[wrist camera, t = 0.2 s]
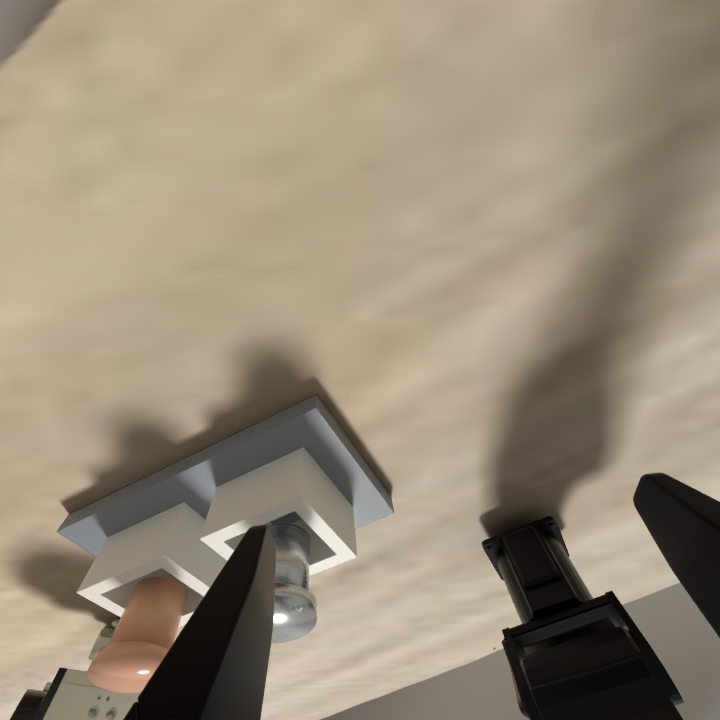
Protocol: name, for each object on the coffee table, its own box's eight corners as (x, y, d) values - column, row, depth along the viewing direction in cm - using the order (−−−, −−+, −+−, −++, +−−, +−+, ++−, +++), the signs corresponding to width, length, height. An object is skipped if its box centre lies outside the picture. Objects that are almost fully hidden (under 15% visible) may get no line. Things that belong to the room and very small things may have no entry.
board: (391, 497, 30) (403, 562, 26) (176, 586, 34) (152, 657, 29) (316, 394, 25) (314, 452, 20) (68, 514, 28) (16, 588, 24)
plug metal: (330, 547, 25) (331, 626, 21) (273, 570, 26) (263, 651, 22) (293, 508, 23) (286, 588, 19) (232, 535, 24) (212, 617, 19)
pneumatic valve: (183, 648, 40) (133, 825, 29) (63, 627, 36) (-45, 822, 25) (202, 623, 38) (155, 805, 27) (76, 598, 34) (-35, 798, 23)
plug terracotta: (209, 595, 27) (188, 678, 22) (158, 616, 27) (129, 699, 23) (164, 564, 24) (131, 649, 20) (110, 587, 25) (68, 673, 21)
